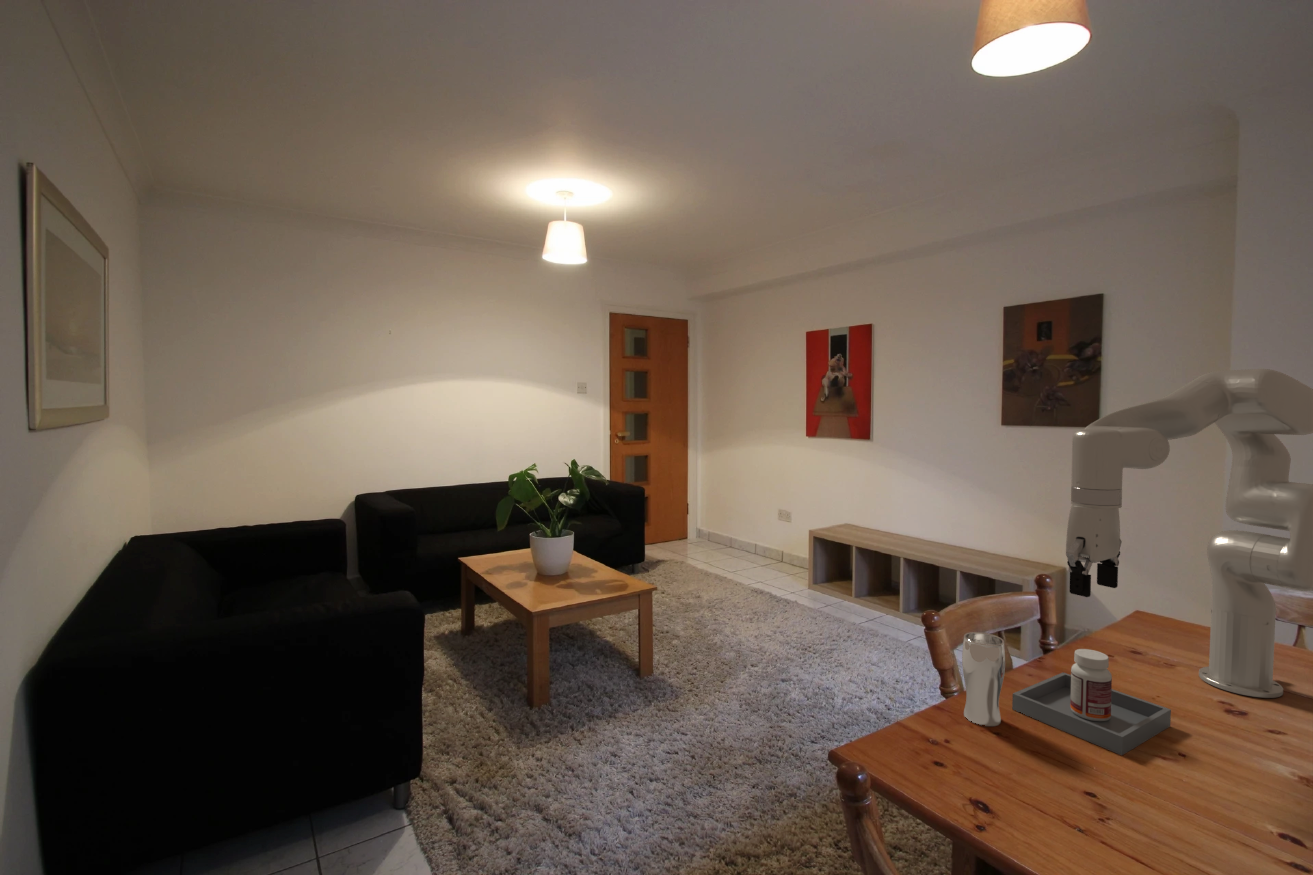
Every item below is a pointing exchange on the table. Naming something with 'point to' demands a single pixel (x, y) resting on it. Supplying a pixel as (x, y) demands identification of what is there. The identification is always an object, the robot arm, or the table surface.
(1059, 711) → the tray
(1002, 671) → the beer glass
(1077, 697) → the pill bottle
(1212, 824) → the table surface
